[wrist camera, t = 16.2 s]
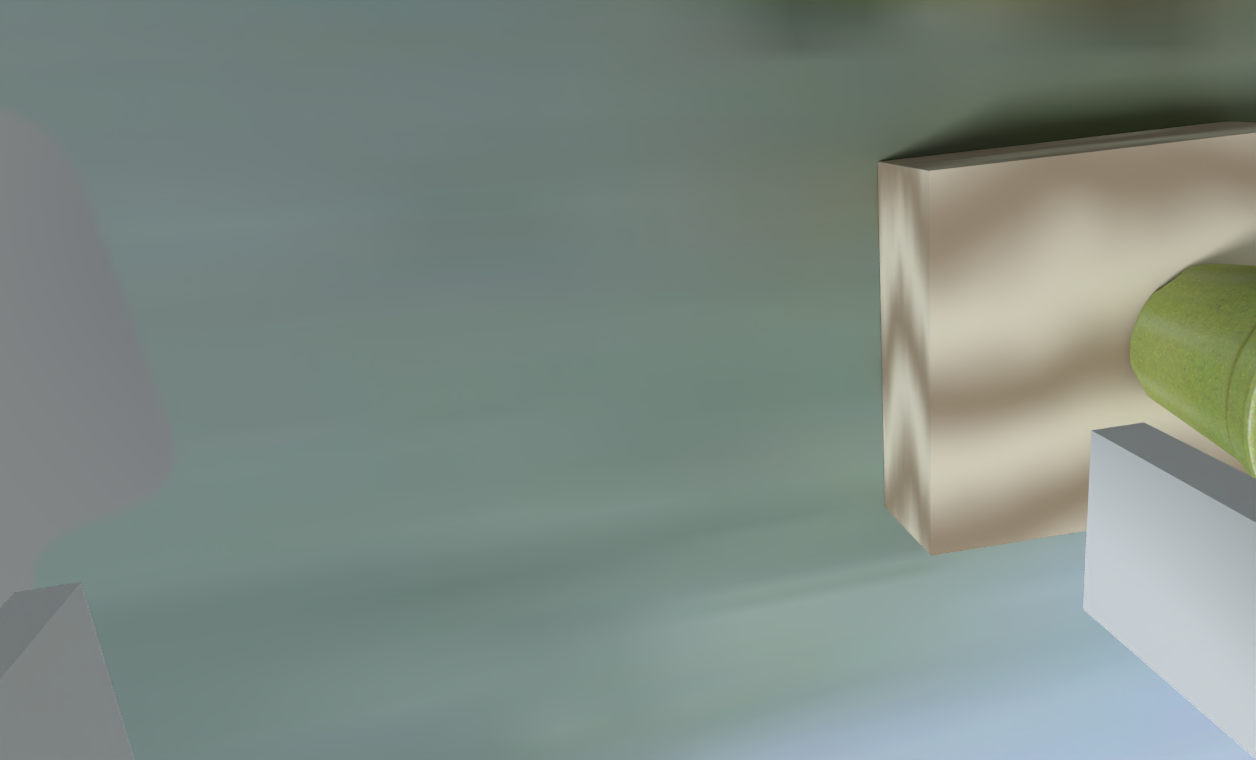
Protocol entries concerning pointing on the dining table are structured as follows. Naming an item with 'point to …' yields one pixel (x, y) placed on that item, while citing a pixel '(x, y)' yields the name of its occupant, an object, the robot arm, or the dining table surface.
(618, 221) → the dining table surface
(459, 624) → the dining table surface
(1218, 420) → the plant pot
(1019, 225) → the birch pedestal block
